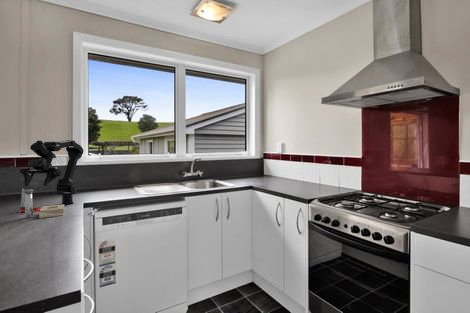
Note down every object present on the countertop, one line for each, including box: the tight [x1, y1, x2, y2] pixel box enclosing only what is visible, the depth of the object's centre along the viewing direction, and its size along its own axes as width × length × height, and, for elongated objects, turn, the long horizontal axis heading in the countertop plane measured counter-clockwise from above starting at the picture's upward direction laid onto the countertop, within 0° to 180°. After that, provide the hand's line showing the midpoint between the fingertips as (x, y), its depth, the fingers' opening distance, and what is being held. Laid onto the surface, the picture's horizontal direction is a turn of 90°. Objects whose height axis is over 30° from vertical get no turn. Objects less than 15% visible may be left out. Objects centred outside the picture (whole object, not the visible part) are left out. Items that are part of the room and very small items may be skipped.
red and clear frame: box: [17, 188, 41, 214], centre depth 143 cm, size 8×13×9 cm
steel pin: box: [23, 188, 34, 219], centre depth 128 cm, size 4×4×14 cm
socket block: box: [38, 204, 65, 219], centre depth 135 cm, size 12×10×4 cm
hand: (34, 186), depth 133 cm, fingers open, 9 cm apart
